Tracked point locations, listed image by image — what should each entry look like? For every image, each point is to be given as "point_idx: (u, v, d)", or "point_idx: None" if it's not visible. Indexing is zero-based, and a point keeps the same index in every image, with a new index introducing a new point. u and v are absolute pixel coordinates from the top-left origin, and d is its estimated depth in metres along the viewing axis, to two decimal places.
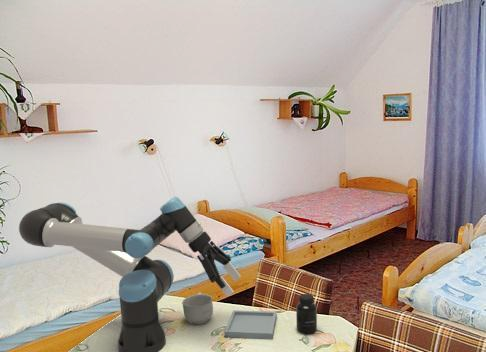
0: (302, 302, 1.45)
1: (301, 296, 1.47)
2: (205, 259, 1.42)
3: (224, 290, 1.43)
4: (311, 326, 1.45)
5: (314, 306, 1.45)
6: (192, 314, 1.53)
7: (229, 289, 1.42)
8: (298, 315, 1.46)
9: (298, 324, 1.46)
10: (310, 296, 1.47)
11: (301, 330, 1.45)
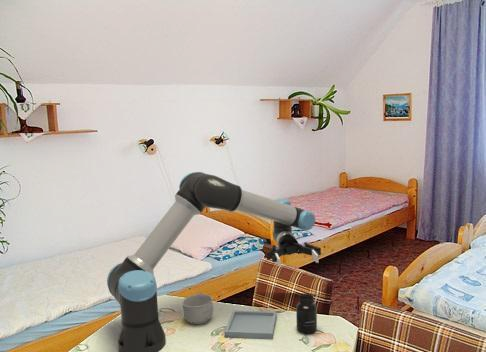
0: (302, 302, 1.45)
1: (301, 296, 1.47)
2: None
3: None
4: (311, 326, 1.45)
5: (314, 306, 1.45)
6: (192, 314, 1.53)
7: None
8: (298, 315, 1.46)
9: (298, 324, 1.46)
10: (310, 296, 1.47)
11: (301, 330, 1.45)
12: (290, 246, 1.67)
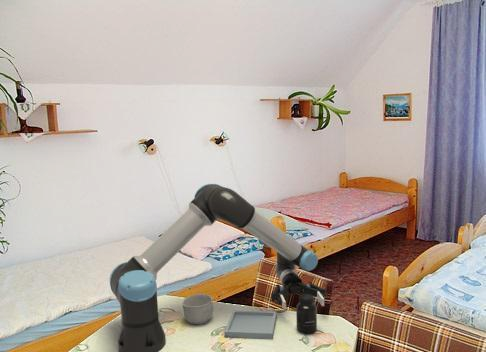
0: (302, 302, 1.45)
1: (301, 296, 1.47)
2: None
3: None
4: (311, 326, 1.45)
5: (314, 306, 1.45)
6: (192, 314, 1.53)
7: None
8: (298, 315, 1.46)
9: (298, 324, 1.46)
10: (310, 296, 1.47)
11: (301, 330, 1.45)
12: (295, 286, 1.66)
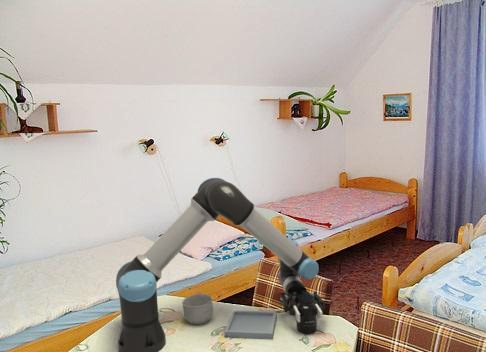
0: (302, 302, 1.45)
1: (301, 296, 1.47)
2: None
3: None
4: (311, 326, 1.45)
5: (314, 306, 1.45)
6: (192, 314, 1.53)
7: None
8: None
9: (298, 324, 1.46)
10: (310, 296, 1.46)
11: (301, 330, 1.45)
12: (299, 295, 1.57)
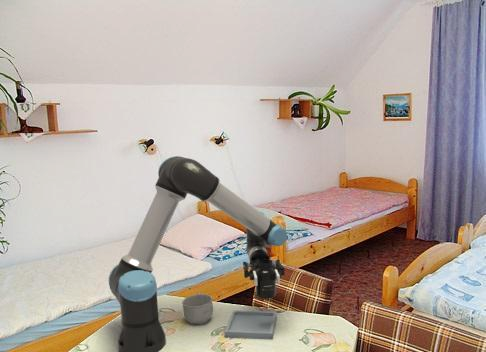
0: (260, 266, 1.47)
1: (260, 261, 1.48)
2: None
3: (278, 275, 1.46)
4: (269, 290, 1.46)
5: (272, 271, 1.47)
6: (192, 314, 1.53)
7: None
8: (257, 279, 1.47)
9: (257, 288, 1.48)
10: (269, 261, 1.48)
11: (259, 294, 1.47)
12: None
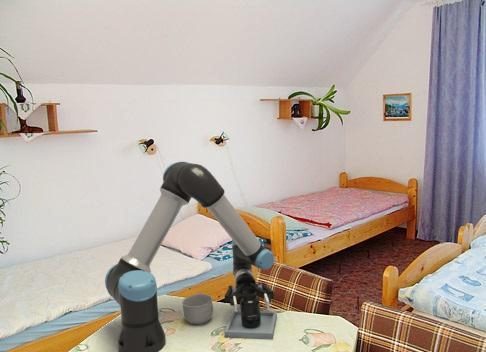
0: (244, 297, 1.49)
1: (244, 291, 1.51)
2: None
3: (268, 300, 1.50)
4: (254, 319, 1.49)
5: (256, 300, 1.49)
6: (192, 314, 1.53)
7: None
8: (241, 310, 1.50)
9: (242, 318, 1.50)
10: (252, 291, 1.50)
11: (245, 324, 1.49)
12: (246, 287, 1.61)
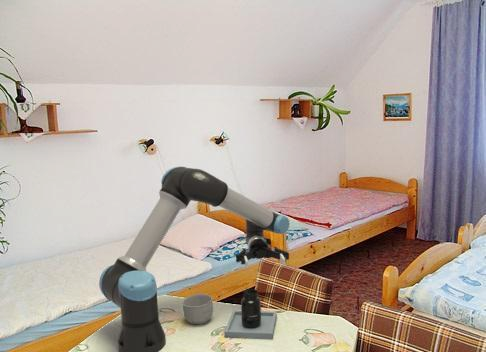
0: (246, 297, 1.49)
1: (245, 291, 1.51)
2: None
3: None
4: (254, 320, 1.49)
5: (257, 301, 1.50)
6: (192, 314, 1.53)
7: None
8: (242, 309, 1.50)
9: (242, 318, 1.50)
10: (254, 291, 1.51)
11: (245, 324, 1.50)
12: (260, 250, 1.72)
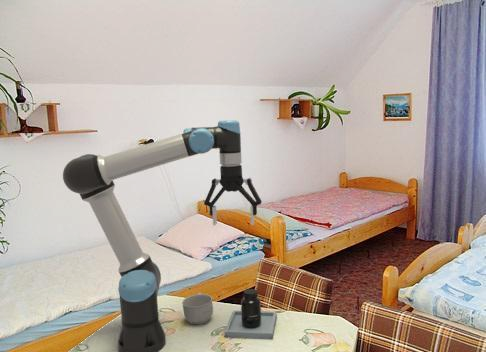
0: (246, 297, 1.49)
1: (245, 291, 1.51)
2: (252, 184, 1.53)
3: (253, 218, 1.53)
4: (254, 320, 1.49)
5: (257, 301, 1.50)
6: (192, 314, 1.53)
7: (253, 219, 1.55)
8: (242, 309, 1.50)
9: (242, 318, 1.50)
10: (254, 291, 1.51)
11: (245, 324, 1.50)
12: (230, 187, 1.52)
